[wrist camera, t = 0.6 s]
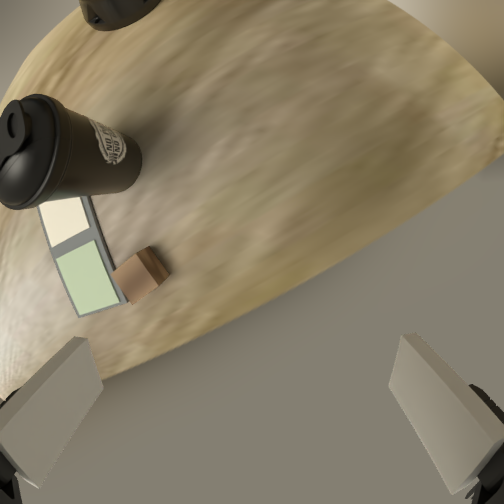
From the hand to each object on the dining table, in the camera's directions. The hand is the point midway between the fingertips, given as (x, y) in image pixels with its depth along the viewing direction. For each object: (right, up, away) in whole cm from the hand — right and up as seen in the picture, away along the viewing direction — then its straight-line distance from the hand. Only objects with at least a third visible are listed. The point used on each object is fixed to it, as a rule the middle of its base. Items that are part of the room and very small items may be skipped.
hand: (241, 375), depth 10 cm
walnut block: (-15, +2, +28) cm, 32 cm away
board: (-27, +6, +27) cm, 39 cm away
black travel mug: (-19, +17, +25) cm, 36 cm away
